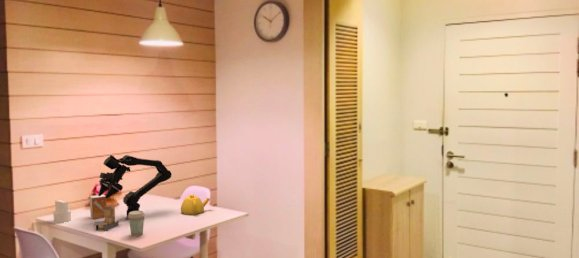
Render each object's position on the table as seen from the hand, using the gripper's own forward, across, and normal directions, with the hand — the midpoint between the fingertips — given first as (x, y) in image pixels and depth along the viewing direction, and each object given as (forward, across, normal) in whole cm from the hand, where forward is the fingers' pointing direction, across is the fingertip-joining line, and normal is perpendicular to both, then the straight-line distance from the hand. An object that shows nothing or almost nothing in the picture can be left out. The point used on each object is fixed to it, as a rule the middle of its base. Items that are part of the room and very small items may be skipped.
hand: (102, 197), depth 267 cm
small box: (+9, -16, +13) cm, 22 cm away
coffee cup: (+10, +32, +13) cm, 36 cm away
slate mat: (+12, -2, +9) cm, 16 cm away
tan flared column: (+12, +9, +10) cm, 18 cm away
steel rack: (+13, +9, +9) cm, 18 cm away
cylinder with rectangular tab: (+21, -23, -1) cm, 31 cm away
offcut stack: (+15, +11, +6) cm, 20 cm away
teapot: (-21, +17, +50) cm, 57 cm away
